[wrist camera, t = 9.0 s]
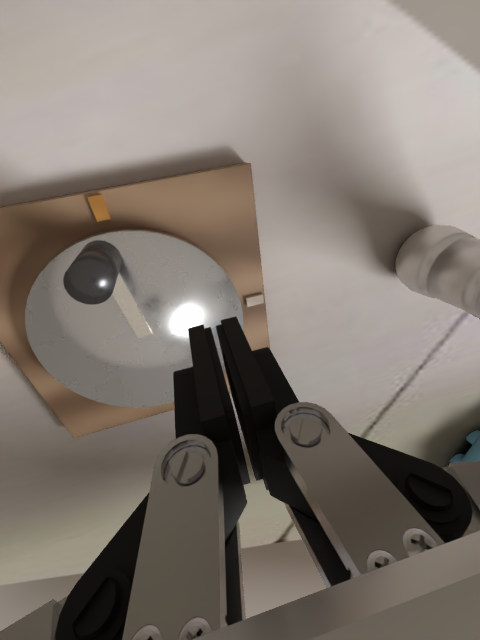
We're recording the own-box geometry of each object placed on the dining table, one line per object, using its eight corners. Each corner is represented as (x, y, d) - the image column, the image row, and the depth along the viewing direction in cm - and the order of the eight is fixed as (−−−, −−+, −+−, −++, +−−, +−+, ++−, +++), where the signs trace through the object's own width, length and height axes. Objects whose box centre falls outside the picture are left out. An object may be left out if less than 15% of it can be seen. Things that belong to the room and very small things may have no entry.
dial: (257, 362, 30) (276, 402, 25) (102, 420, 29) (91, 473, 24) (207, 196, 21) (221, 211, 16) (-26, 273, 20) (-84, 313, 15)
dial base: (269, 372, 34) (274, 382, 32) (76, 426, 31) (72, 440, 29) (245, 162, 22) (251, 163, 20) (-72, 220, 19) (-92, 226, 17)
